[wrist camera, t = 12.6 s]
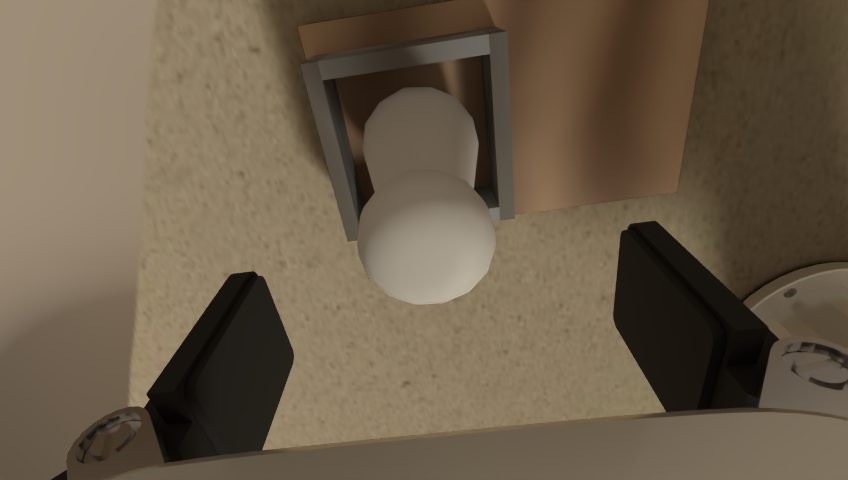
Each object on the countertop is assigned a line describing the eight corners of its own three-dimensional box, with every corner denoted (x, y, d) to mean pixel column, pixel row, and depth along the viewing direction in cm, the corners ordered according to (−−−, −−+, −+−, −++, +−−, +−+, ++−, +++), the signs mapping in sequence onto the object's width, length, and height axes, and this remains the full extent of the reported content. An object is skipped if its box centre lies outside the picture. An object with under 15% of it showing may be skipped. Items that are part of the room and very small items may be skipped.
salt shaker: (374, 67, 22) (336, 146, 11) (482, 88, 22) (555, 183, 11) (362, 173, 25) (321, 324, 13) (458, 189, 25) (496, 345, 14)
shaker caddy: (701, -41, 21) (762, -48, 17) (666, 184, 27) (706, 214, 23) (302, 24, 22) (281, 31, 18) (355, 228, 28) (346, 263, 24)
